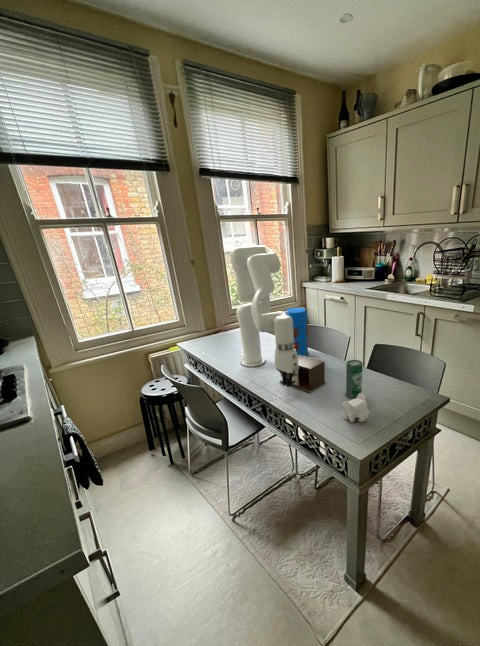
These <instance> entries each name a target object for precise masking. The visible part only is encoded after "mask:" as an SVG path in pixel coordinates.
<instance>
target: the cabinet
mask: <svg viewBox="0 0 480 646" xmlns="http://www.w3.org/2000/svg"><path fill="white" fill-rule="evenodd" d="M297 356H298V363H299V370H298V377H299V386H297V385H295V384H292V385H291V386H289V387H290V388H293V389H297V390H300V391H302V392H305V393H307V394H311V393H312V392H314V391H315V390H317V389H318V388H320V387H322V386H323V385H325V384H326V361H325V360H321V359H318V358H313V357H310V356H307V355H305V356H303V355H299V354H297ZM279 381H280V384H281V385H283V380H282V379H280V380H279Z"/></svg>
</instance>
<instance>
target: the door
mask: <svg viewBox="0 0 480 646" xmlns="http://www.w3.org/2000/svg"><path fill="white" fill-rule="evenodd" d="M297 372H298V370H297ZM285 376H286V379H287V373H285ZM292 384H295V385H297V386H299V377H298V375H296V376H293V377H292ZM285 387H286V388H288V387H287V385H285Z"/></svg>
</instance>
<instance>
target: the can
mask: <svg viewBox="0 0 480 646" xmlns="http://www.w3.org/2000/svg"><path fill="white" fill-rule="evenodd" d="M363 365H364V364H363V361H362V360H359V359H350V360H347V361H346V368H345V369H346V373H345V374H346V376H345V377H346V379H345V381H346V382H345V395H346V397H347V398H349V399H351V400H353V399H356V398H357V396H358V394H359V393H362V391H363V390H362V389H363Z"/></svg>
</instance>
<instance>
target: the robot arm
mask: <svg viewBox="0 0 480 646" xmlns="http://www.w3.org/2000/svg"><path fill="white" fill-rule="evenodd" d="M229 260H230V264H231V267H232V269H233V271H234V275H235V286H236V293H237V298H238V300H239V301H240V302H241V303H246V304H242V305H240V306H238V307H237V308H236V311H235V312H236V318H237V321H238V325H239V331H240V339H241V343H242V344H241V347H242V352H241V354H240V357H242V360H241V365H242V366H244V367H250V368H251V367H252V368H253V367H258V366H261V365H263V364H264V363H265V362H266V358H265V357H263V355H262V345H261V337H260V333H267V332H269V333H270V332H273V331H274V340H275V349H274V364H275V370H277V371H278V372H279V373H280V377H282V378H281V380H283V384H282V386H286V385H287V387H286V388H289V387H290V386H291V385H292V377H293V376H296V375H298V372H297V370H299V363H298V356H297V352H296V349H295V345H294V336H293V320H292V318H291V317H290V316H288V315H287V312H285V311H283V310H278V311H274V312H273V311H272V310H271V294H272V292H274V291H275V288H276V287H275V284H274V281H273V277H272V275H271V274H276V273H278V272H280V270H281V260H280V258H279V256H278V254H277V253H276V252H275V251H273V249H271V248H269V247H268V246H266V245H249V246H248V245H247V246H240V247H239V246H238V247H234V248H233V249H232V250H231V251H230V253H229ZM271 311H272V312H271ZM285 373H287V379H286V376H285Z"/></svg>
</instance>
